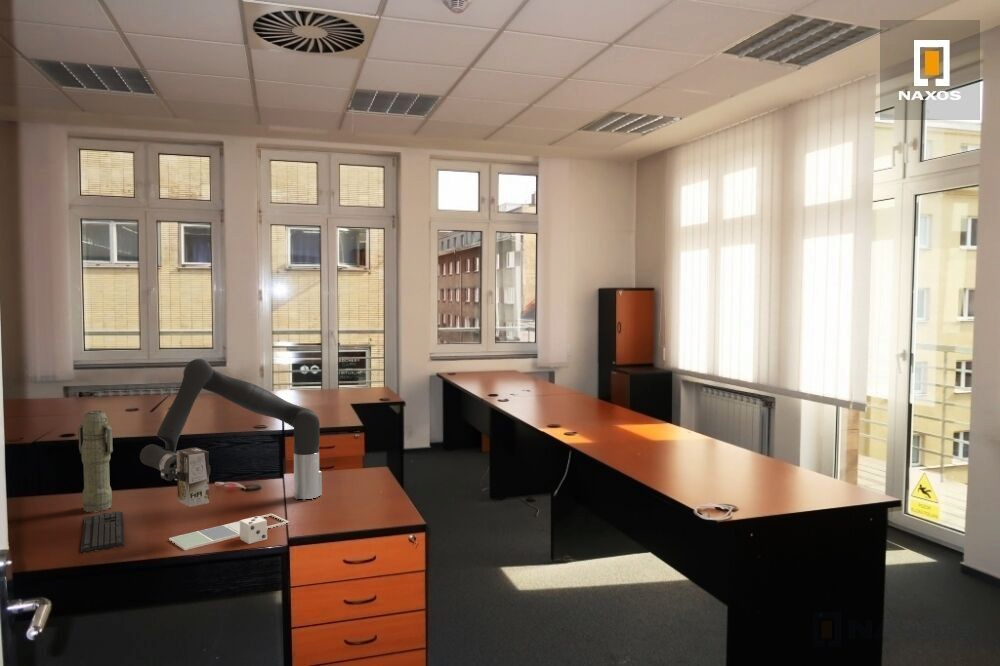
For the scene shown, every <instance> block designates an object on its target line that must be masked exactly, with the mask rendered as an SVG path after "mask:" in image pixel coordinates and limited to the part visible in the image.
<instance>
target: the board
mask: <svg viewBox="0 0 1000 666" xmlns="http://www.w3.org/2000/svg"><path fill="white" fill-rule="evenodd" d="M258 516H259V515H258ZM269 516H272V517H271V518H273V517H274V518H273V519H275V518H277V519H276V520H278V519H279V520H278V521H280V520H281V521H280V522H279V523H276V524H271V525H267V530H269V529H268V528H271V529H274V528H273V527H275V528H277V527H276V526H278V527H282V526H285V525H284V524H286V523H288V522H289V523H290V521H289V520H287V519H284V518H282V517H280V516H278V515H276V514H274V513H269V514H268V513H267V514H264V515H260V516H259V517H261V518H263V519H265V518H264V517H267V518H270V517H269ZM282 521H283V522H282ZM281 525H282V526H281ZM286 525H287V524H286ZM238 537H239V538H240V520H238V521H233V522H230V523H227V524H223V525H218V526H214V527H213V526H212V527H210V528H206V529H202V530H197V531H196V530H195V531H193V532H189V533H184V534H181V535H175V536H172V537H169V541H170V542H171V541H172V542H171V543H172V544H174V543H175V544H174V545H175V546H176V547H177V546H178V548H180V549H182V550H183V551H189V550H191V549H195V548H199V547H203V546H207V545H211V544H216V543H219V542H223V541H227V540H231V539H235V538H238Z"/></svg>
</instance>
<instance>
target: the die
mask: <svg viewBox="0 0 1000 666" xmlns="http://www.w3.org/2000/svg"><path fill="white" fill-rule="evenodd" d="M239 521H240V536H239V540H241V541H242V542H244V543H246V544H248V545H250V544H254V543H258V542H261V541H266V540H268V529H267V526H268V520H267V519H266V518H261V517H259V515H256V516H253V517H248V518H244V519H240V520H239Z"/></svg>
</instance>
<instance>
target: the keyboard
mask: <svg viewBox="0 0 1000 666" xmlns="http://www.w3.org/2000/svg"><path fill="white" fill-rule="evenodd" d="M93 514H94V515H91V516H85V517H84V519H83V526H82V535H81V536H82V537H81V544H80V545H81V546H80V553H81V552H82V553H81V554H84V553H83V552H86V553H90V552H89V551H93V552H96V551H95V550H99V551H104V550H103V549H105V550H110V549H109V548H112V549H114V548H113V547H118V548H120V547H119V546H123V547H125V536H124V535H125V534H124V516H123V514H124V513H123V512H122V511H121V510H117V511H112V512H111V511H110V512H108V511H107V512H100V513H96V514H95V513H93Z"/></svg>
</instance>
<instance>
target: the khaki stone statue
mask: <svg viewBox="0 0 1000 666" xmlns="http://www.w3.org/2000/svg"><path fill="white" fill-rule="evenodd" d="M108 423H109V422H108V417H107V415H106V412H104V411H102V410H90V411H87V412H86V413H84V415H83V419H82V424H80V426H79V427H78V430H77V431H78V451H79V454H81V462H82V464H83V490H82V504H83V512H84V511H88V512H94V511H102V512H104V511H103V510H106V509H109V508H111V506H113V505H112V501H113V494H112V493H113V492H112V487H111V484H110V481H111V480H110V461H111V454H112V453H113V452H114V447H113V439H114V437H113V434H114V433H113V428H112V426H111V424H108ZM111 509H112V508H111ZM109 510H110V509H109ZM106 511H107V510H106Z"/></svg>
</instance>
